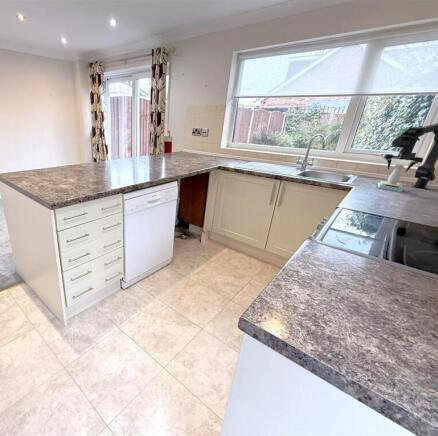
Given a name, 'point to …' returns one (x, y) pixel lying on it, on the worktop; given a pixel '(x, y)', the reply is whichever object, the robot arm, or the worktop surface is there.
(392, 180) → the salt shaker
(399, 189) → the scale
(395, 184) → the scale platform
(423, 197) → the worktop surface
